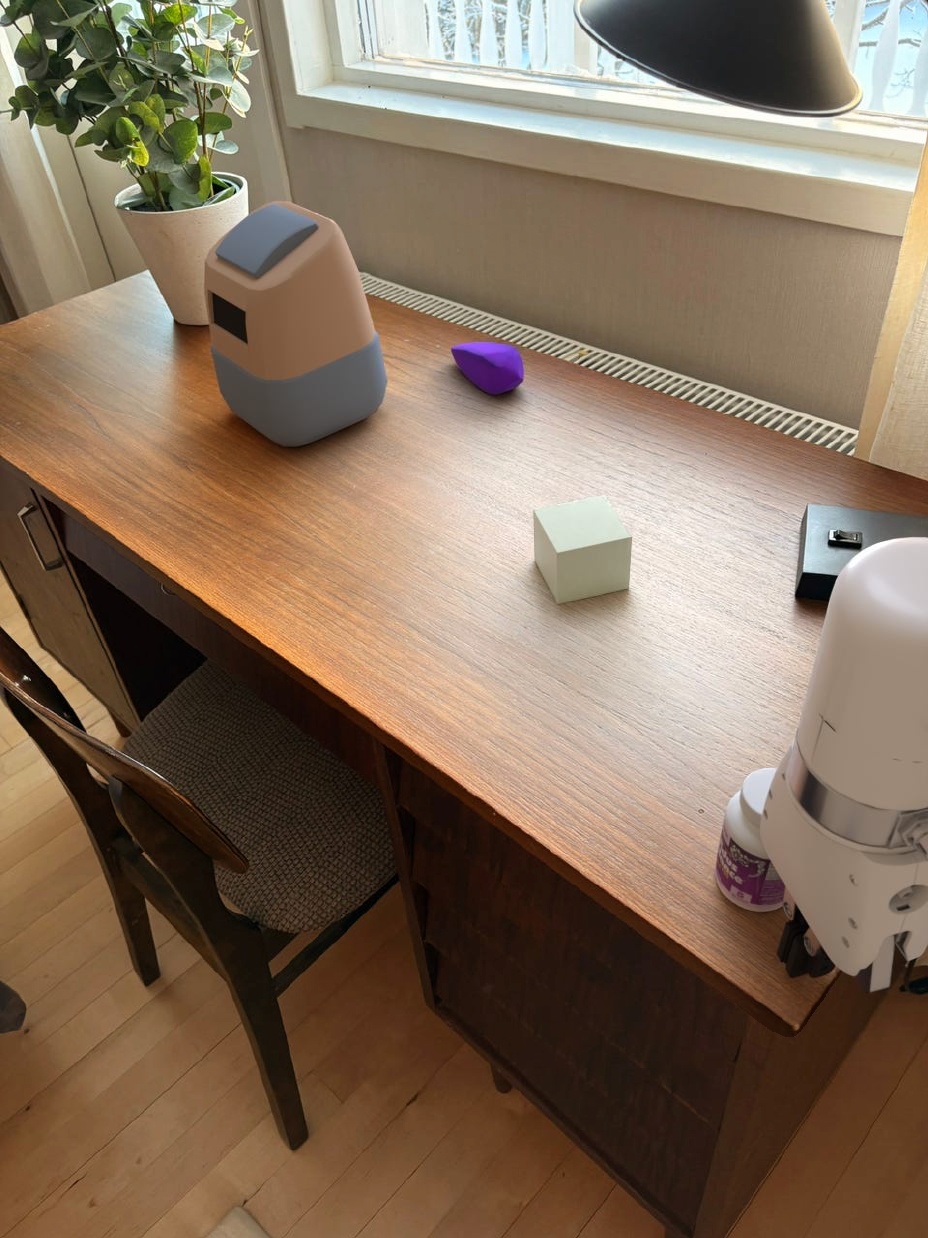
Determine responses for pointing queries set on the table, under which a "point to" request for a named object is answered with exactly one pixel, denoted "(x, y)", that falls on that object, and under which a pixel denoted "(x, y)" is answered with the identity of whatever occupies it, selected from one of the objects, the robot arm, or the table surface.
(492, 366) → the crystal
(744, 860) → the pill bottle
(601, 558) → the sage block
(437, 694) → the table surface
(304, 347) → the alarm clock
